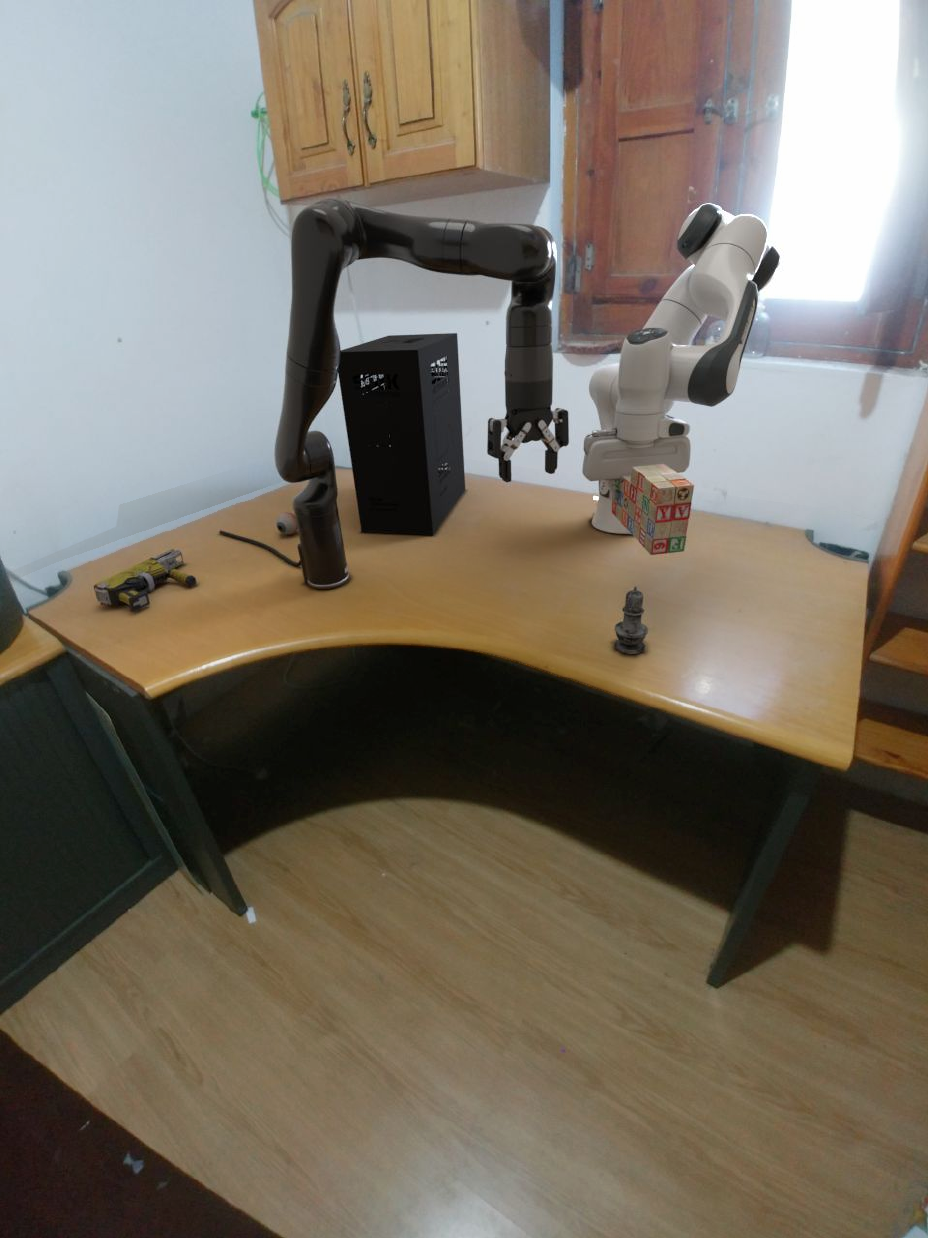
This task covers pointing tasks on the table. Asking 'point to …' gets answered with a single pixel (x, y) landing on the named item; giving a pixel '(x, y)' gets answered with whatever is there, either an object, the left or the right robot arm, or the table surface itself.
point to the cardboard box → (404, 431)
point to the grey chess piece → (631, 625)
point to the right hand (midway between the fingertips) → (632, 497)
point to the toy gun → (141, 581)
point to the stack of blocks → (655, 507)
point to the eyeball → (286, 523)
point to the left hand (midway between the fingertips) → (528, 476)
